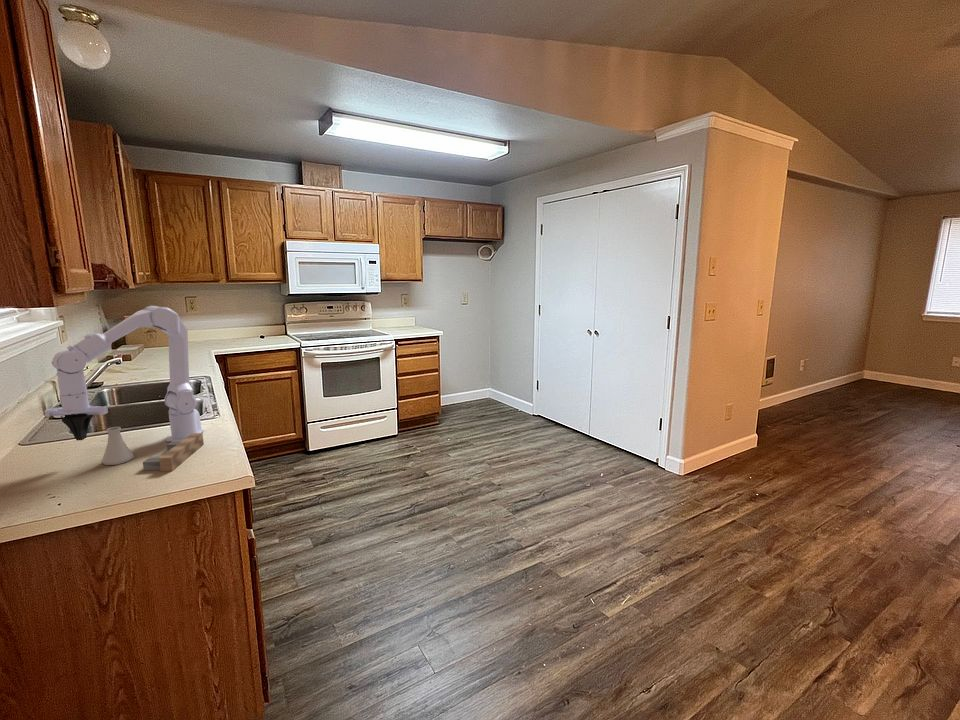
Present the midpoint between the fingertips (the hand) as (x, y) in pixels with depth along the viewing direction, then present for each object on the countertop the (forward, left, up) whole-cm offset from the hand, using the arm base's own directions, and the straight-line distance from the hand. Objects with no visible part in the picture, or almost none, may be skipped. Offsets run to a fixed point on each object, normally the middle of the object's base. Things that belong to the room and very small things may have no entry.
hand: (81, 439), depth 128 cm
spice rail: (0, +24, -7) cm, 25 cm away
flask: (0, +9, -7) cm, 11 cm away
